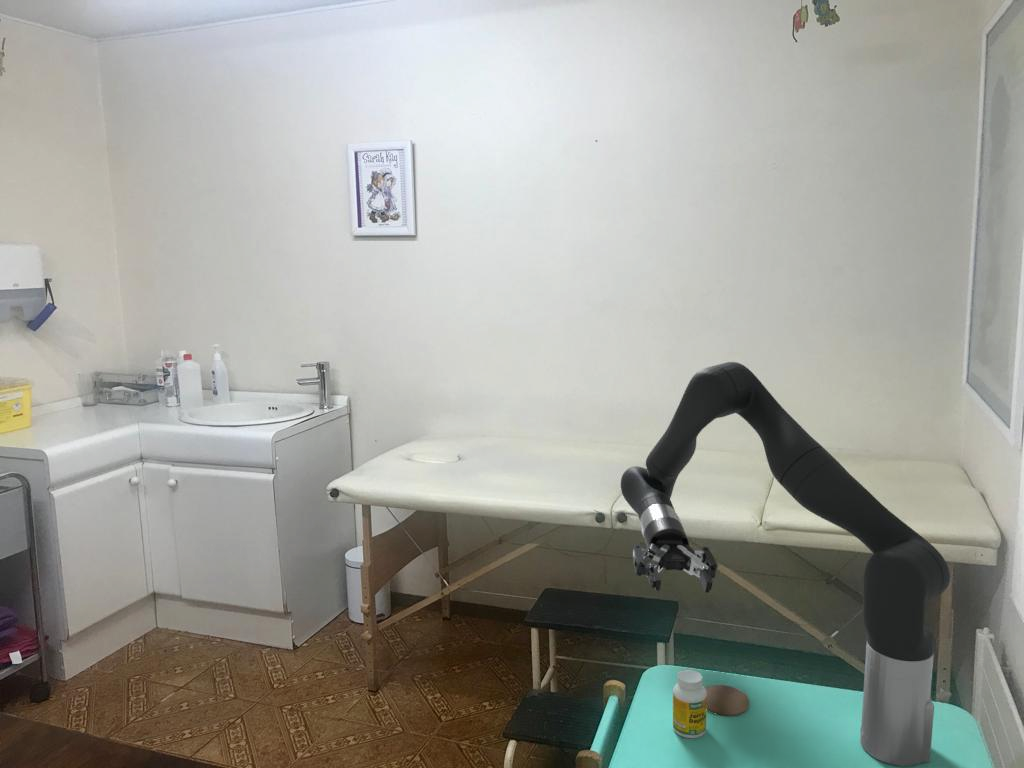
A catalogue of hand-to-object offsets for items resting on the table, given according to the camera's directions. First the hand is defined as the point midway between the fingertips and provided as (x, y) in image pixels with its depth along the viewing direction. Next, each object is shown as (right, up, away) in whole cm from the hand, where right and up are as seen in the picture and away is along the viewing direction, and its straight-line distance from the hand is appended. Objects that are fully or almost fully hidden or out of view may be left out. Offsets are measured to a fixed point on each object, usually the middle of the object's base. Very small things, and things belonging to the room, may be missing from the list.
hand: (683, 587), depth 138 cm
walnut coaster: (+7, -20, +2) cm, 22 cm away
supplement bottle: (0, -22, -5) cm, 23 cm away
